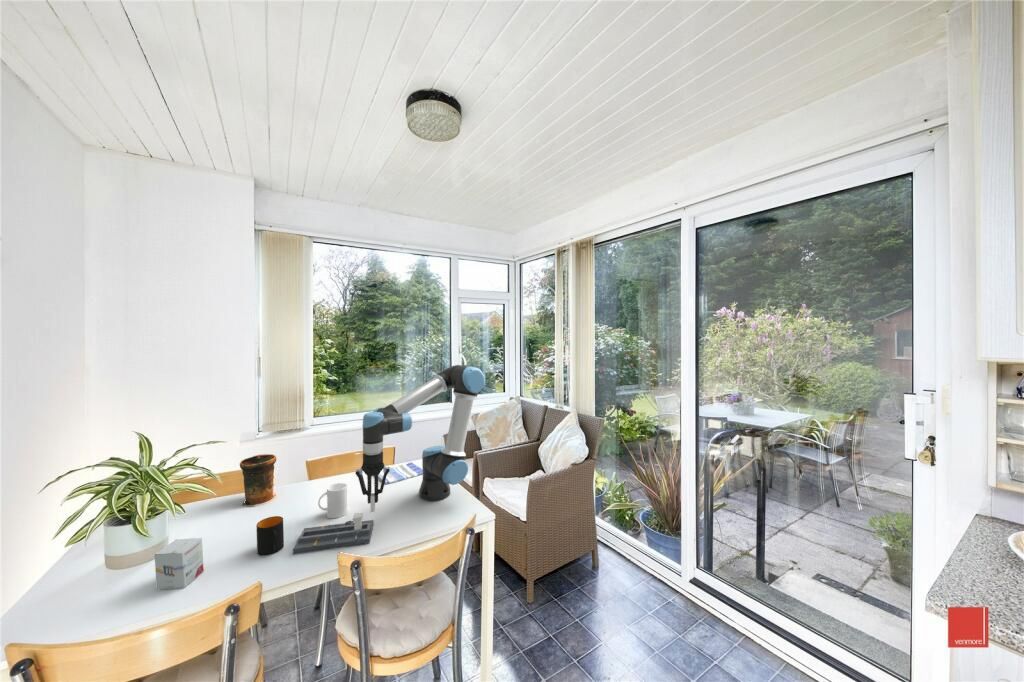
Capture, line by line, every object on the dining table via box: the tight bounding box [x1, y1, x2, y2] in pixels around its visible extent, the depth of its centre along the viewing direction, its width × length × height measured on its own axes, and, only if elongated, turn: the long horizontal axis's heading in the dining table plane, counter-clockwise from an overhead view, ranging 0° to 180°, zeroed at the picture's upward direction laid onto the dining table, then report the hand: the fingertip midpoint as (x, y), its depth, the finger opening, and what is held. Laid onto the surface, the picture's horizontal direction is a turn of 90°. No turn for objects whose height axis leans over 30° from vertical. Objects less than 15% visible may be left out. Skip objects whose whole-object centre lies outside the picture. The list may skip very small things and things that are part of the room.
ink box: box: [154, 537, 204, 591], centre depth 119 cm, size 9×9×12 cm
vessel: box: [239, 453, 277, 508], centre depth 174 cm, size 14×14×20 cm
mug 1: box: [256, 515, 285, 557], centre depth 135 cm, size 8×12×10 cm
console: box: [292, 519, 375, 555], centre depth 143 cm, size 26×14×3 cm, turn 104°
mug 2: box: [317, 482, 349, 519], centre depth 161 cm, size 12×8×12 cm
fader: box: [352, 511, 364, 530], centre depth 145 cm, size 3×4×6 cm
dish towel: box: [378, 462, 423, 486], centre depth 204 cm, size 17×24×3 cm
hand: (372, 510), depth 146 cm, fingers closed
